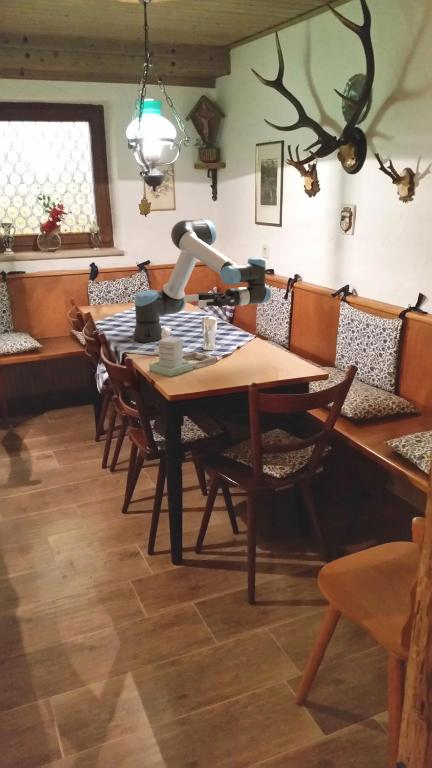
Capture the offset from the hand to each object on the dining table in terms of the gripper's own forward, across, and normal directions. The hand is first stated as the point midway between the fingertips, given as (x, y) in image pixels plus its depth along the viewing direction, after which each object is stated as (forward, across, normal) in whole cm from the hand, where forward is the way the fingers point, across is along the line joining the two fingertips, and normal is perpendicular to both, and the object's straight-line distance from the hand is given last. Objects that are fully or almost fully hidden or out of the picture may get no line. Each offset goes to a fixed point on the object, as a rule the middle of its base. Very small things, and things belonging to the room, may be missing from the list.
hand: (191, 301), depth 242 cm
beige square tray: (-4, +5, -28) cm, 29 cm away
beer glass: (-20, +22, -28) cm, 41 cm away
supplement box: (+10, 0, -28) cm, 29 cm away
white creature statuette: (+1, +27, -28) cm, 39 cm away
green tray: (+10, 0, -28) cm, 30 cm away
